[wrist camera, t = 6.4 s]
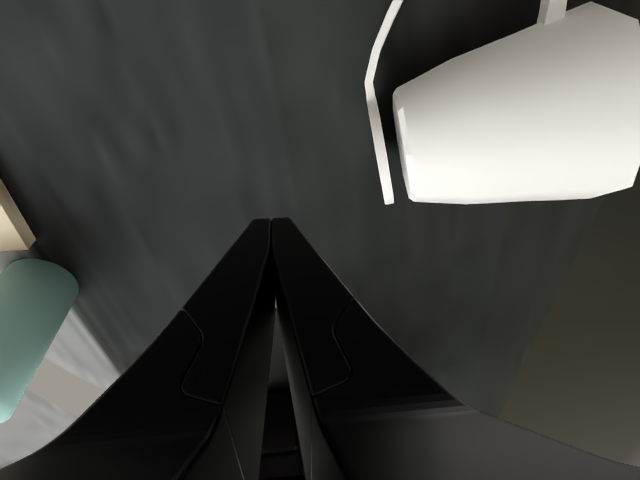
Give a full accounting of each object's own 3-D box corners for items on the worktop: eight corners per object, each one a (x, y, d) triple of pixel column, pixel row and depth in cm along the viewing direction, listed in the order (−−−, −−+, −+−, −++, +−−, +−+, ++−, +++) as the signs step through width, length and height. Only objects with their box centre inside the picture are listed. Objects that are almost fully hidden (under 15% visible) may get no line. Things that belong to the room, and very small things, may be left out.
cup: (395, 265, 13) (655, 224, 12) (335, -69, 10) (679, -184, 9) (386, 211, 20) (552, 180, 18) (348, -2, 17) (545, -61, 15)
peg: (89, 303, 22) (28, 422, 16) (23, 307, 22) (-61, 431, 16) (63, 256, 20) (-17, 376, 14) (-11, 260, 19) (-122, 385, 14)
